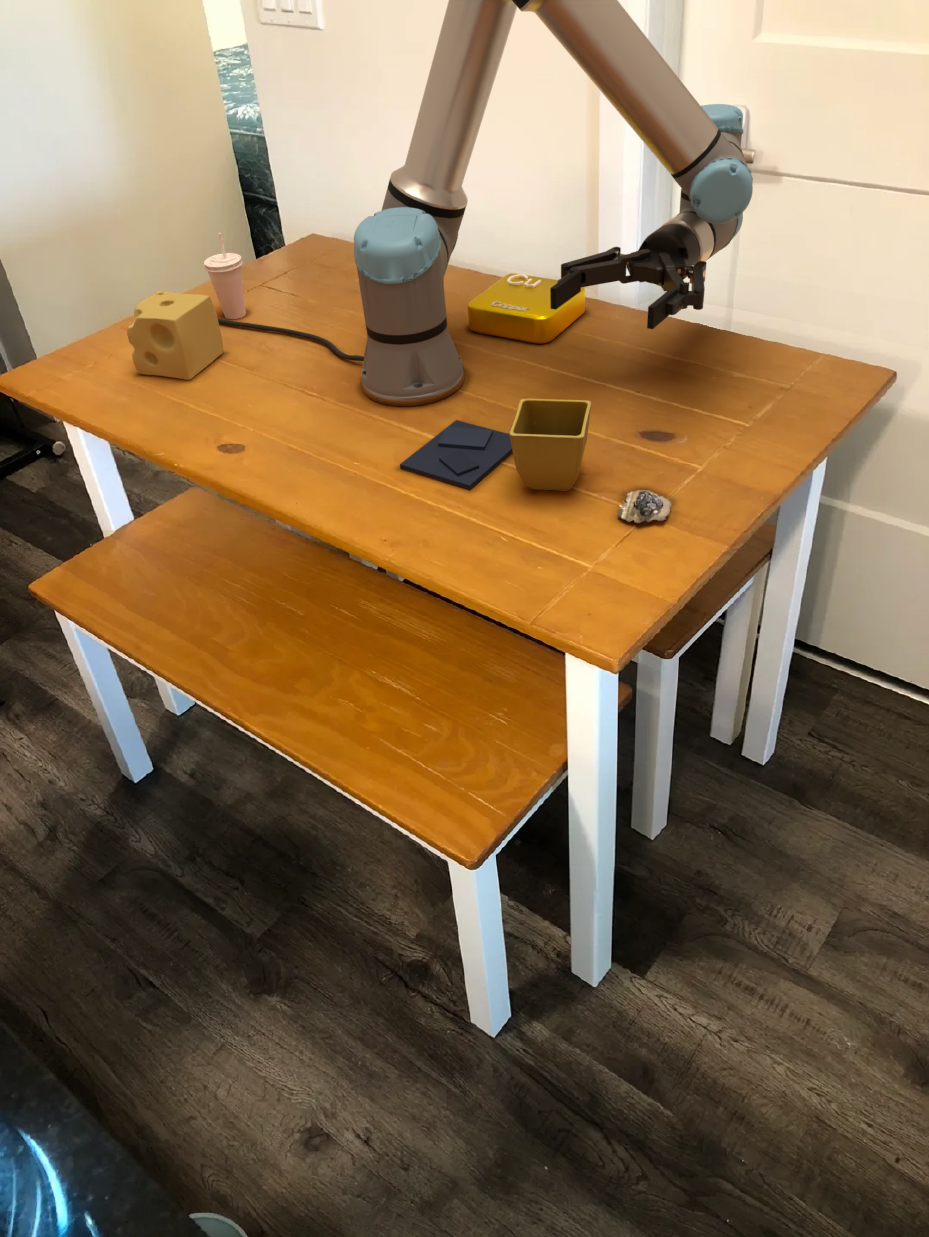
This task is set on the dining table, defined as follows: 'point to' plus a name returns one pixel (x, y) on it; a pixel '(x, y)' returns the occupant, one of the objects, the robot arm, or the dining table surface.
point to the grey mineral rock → (644, 507)
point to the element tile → (523, 309)
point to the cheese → (175, 335)
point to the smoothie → (227, 281)
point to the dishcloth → (460, 454)
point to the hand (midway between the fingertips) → (600, 308)
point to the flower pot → (550, 441)
